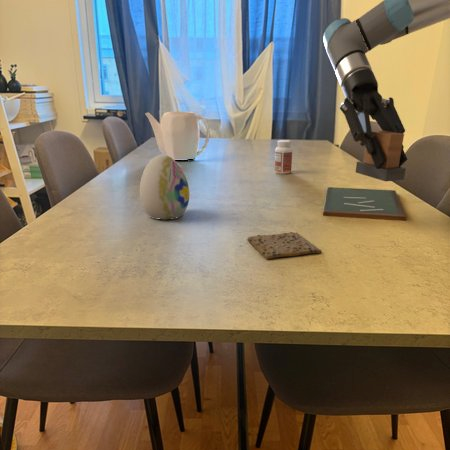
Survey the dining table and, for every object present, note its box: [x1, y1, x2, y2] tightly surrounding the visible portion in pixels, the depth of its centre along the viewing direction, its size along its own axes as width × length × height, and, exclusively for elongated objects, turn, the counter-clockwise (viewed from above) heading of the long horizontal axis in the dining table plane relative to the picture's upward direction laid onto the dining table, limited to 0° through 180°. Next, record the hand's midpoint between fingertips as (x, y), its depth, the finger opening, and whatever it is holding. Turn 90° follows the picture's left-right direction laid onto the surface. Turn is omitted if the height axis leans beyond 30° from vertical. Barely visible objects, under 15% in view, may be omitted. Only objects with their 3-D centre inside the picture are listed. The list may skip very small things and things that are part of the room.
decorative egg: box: [139, 154, 190, 220], centre depth 107 cm, size 12×12×15 cm
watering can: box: [144, 110, 211, 160], centre depth 181 cm, size 16×27×19 cm, turn 88°
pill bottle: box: [273, 139, 293, 175], centre depth 157 cm, size 6×6×11 cm
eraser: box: [355, 129, 407, 182], centre depth 98 cm, size 11×5×10 cm, turn 20°
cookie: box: [246, 231, 323, 260], centre depth 90 cm, size 12×12×1 cm
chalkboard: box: [322, 186, 407, 221], centre depth 120 cm, size 20×28×1 cm
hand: (391, 163), depth 95 cm, fingers closed on eraser, 5 cm apart
